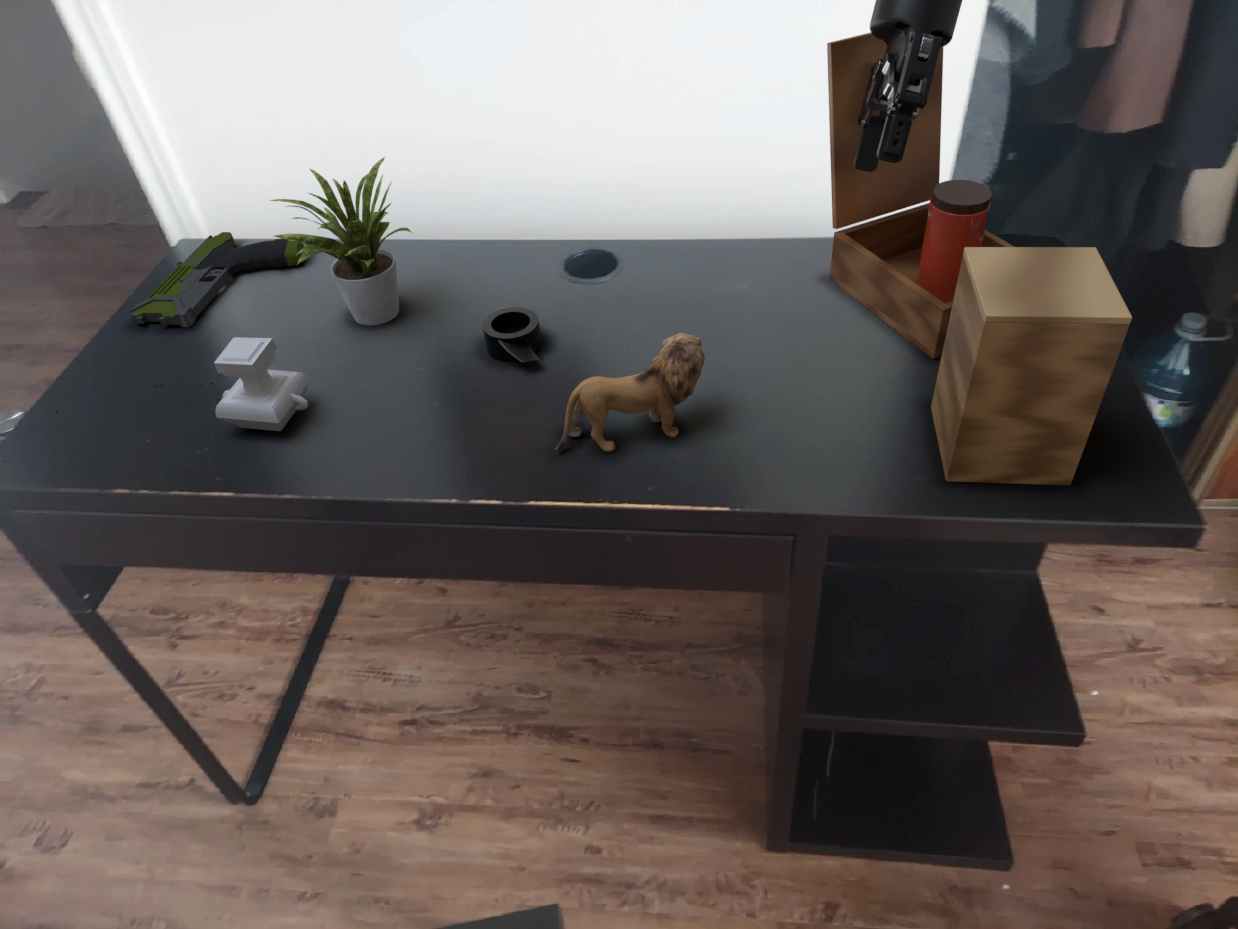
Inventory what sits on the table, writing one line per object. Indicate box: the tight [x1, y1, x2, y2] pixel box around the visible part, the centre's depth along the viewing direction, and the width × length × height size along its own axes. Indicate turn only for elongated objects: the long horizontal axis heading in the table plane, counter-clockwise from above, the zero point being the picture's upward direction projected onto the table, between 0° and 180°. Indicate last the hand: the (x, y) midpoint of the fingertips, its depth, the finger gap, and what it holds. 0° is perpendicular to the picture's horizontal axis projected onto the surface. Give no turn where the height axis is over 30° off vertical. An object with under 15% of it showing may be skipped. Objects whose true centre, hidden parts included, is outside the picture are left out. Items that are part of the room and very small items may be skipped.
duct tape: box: [482, 305, 543, 364], centre depth 96 cm, size 8×10×3 cm
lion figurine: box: [554, 332, 706, 453], centre depth 82 cm, size 15×5×9 cm, turn 112°
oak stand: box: [930, 254, 1131, 486], centre depth 75 cm, size 10×10×16 cm
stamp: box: [213, 336, 311, 432], centre depth 87 cm, size 9×7×8 cm
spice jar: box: [916, 179, 993, 304], centre depth 92 cm, size 6×6×12 cm
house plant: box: [269, 156, 414, 326], centre depth 99 cm, size 14×14×16 cm
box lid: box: [826, 32, 944, 230], centre depth 97 cm, size 18×14×4 cm
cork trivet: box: [964, 246, 1133, 324], centre depth 70 cm, size 10×10×1 cm
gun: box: [130, 231, 306, 328], centre depth 109 cm, size 2×19×15 cm
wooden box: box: [829, 202, 1015, 360], centre depth 96 cm, size 18×14×6 cm
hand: (875, 165), depth 87 cm, fingers open, 8 cm apart
